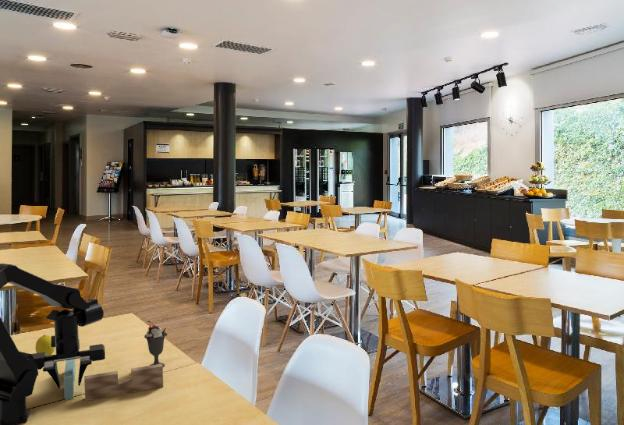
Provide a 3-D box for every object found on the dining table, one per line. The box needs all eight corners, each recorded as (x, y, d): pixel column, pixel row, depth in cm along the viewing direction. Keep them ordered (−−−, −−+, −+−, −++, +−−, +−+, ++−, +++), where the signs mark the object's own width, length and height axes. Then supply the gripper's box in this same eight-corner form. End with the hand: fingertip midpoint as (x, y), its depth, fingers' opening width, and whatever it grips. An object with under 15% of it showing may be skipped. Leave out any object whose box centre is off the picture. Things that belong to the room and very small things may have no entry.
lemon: (47, 362, 153) (45, 338, 153) (32, 361, 154) (30, 337, 154) (59, 355, 159) (58, 332, 158) (44, 354, 160) (43, 331, 159)
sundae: (140, 368, 149) (138, 321, 147) (156, 360, 155) (155, 315, 153) (156, 372, 146) (154, 324, 144) (172, 364, 152) (170, 318, 150)
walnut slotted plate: (162, 383, 138) (161, 363, 137) (163, 386, 136) (162, 366, 136) (85, 397, 130) (84, 376, 129) (85, 400, 128) (84, 379, 127)
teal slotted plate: (73, 398, 129) (72, 376, 129) (64, 399, 129) (63, 378, 128) (75, 370, 148) (74, 351, 147) (68, 371, 147) (67, 352, 146)
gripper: (103, 319, 143) (105, 369, 144) (30, 327, 135) (33, 381, 136) (104, 330, 133) (106, 385, 134) (25, 340, 125) (29, 398, 126)
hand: (69, 386), depth 133 cm, fingers open, 5 cm apart
